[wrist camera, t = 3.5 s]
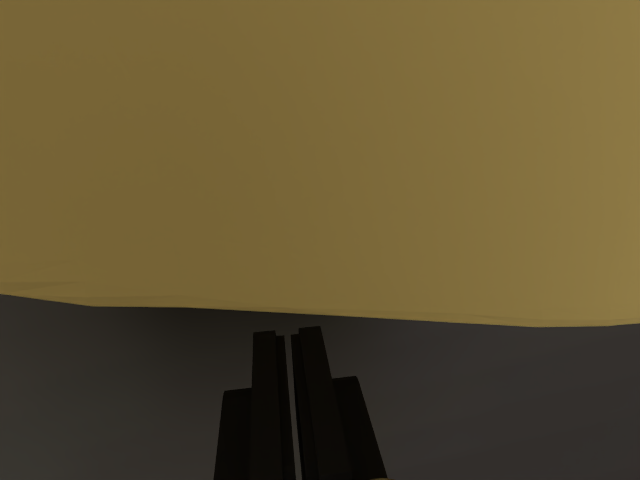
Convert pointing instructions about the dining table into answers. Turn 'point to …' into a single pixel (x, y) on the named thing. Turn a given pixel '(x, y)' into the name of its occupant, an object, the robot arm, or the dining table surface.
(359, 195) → the cheese
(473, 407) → the dining table surface
